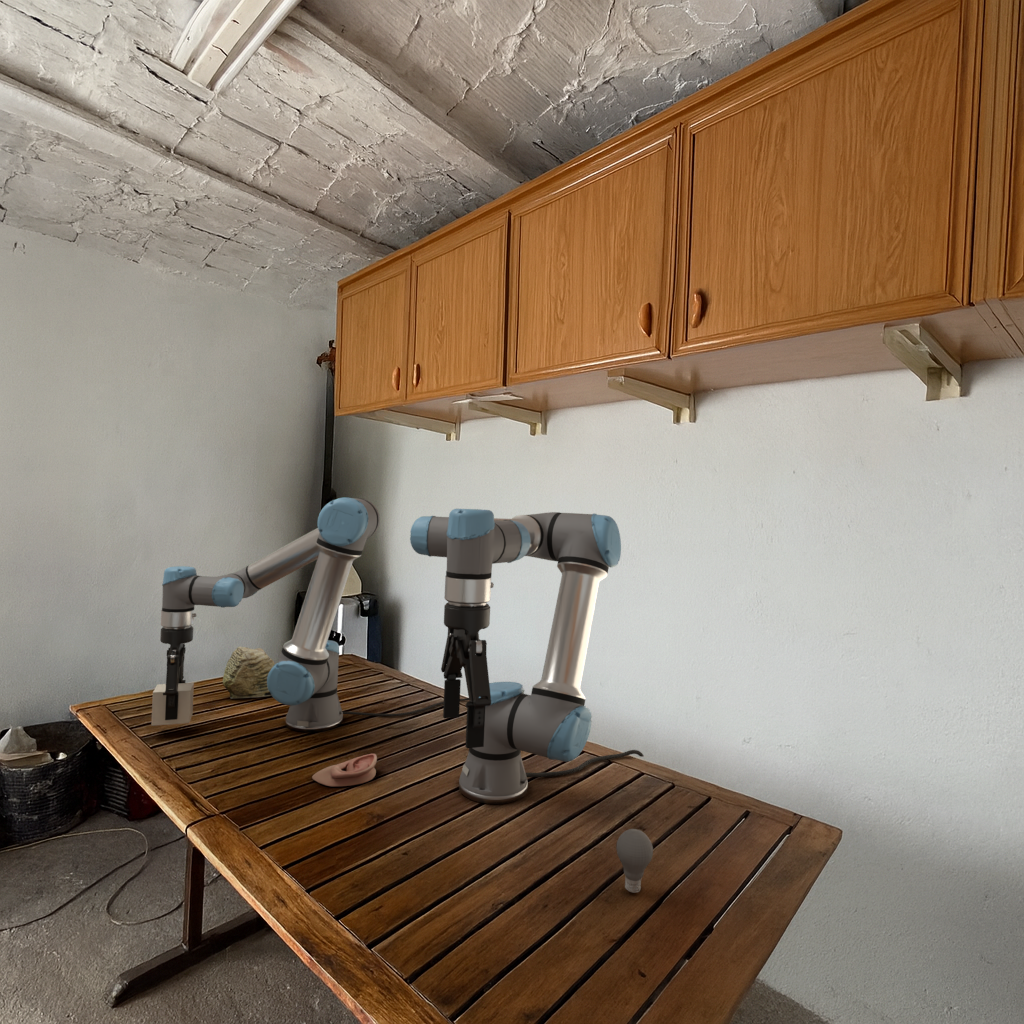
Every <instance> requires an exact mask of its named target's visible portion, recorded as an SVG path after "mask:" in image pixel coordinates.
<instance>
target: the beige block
mask: <svg viewBox="0 0 1024 1024" xmlns="http://www.w3.org/2000/svg"><path fill="white" fill-rule="evenodd" d="M194 687H195V682H185V683H178V693H179V694H178V716H177V719H176V720H165V710H166V695H163V693H165V691H166V683H162V684H161V683H160V684H159V683H158V684H156V686H155V688H154V690H153V691H152V701H151V702H152V705H151V722H150V723H151V726H153V727H154V726H167V725H168V726H169V725H183V724H190V723H191V720H192V717H193V714H194V691H195V690H194V689H195V688H194ZM169 690H172V689H169Z"/></svg>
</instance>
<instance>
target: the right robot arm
mask: <svg viewBox="0 0 1024 1024" xmlns="http://www.w3.org/2000/svg"><path fill="white" fill-rule="evenodd" d="M410 528H411V529H410V535H409V536H410V537H409V542H410V545H411V548H412V550H413V551H414V552H415V553H416V554H418V555H422V556H428V557H429V558H431V557H435V558H436V557H437V558H446V571H445V580H444V600H445V601H446V603H445V604H444V608H443V625H444V626H445V627H446V628H447V636H446V641H445V647H444V651H443V658H442V662H441V667H440V670H441V671H440V672H441V673H443V678H444V682H443V683H444V684H443V686H444V687H443V702H444V704H443V707H442V709H443V711H442V718H443V719H456V718H460V710H461V709H460V707H461V705H460V704H461V701H460V699H461V685H462V684H461V683H462V682H461V681H462V680H461V679H462V678H463V672H462V669H463V671H464V677H465V683H466V689H467V695H468V698H469V700H468V701H467V702H465V708H466V722H465V723H466V727H465V728H466V729H465V745H464V747H465V748H466V749H468V752H467V753H468V754H467V756H466V759H465V762H464V763H463V765H462V769H461V772H460V775H459V778H458V790H459V792H460V794H462V795H463V796H464V797H465V798H467V799H469V800H471V801H474V802H476V803H481V804H490V805H502V804H509V803H513V802H516V801H518V800H520V799H522V798H524V797H525V796H526V794H527V793H528V785H529V784H528V778H549V777H561V776H566V775H567V776H568V775H572V774H574V773H577V772H580V771H582V770H583V769H584V768H585V767H587V766H589V765H591V764H593V763H594V764H595V763H597V762H601V761H607V760H613V759H622V758H625V757H628V756H630V755H637V756H638V757H642V758H643V757H644V756H645V755H644V754H643V752H641V751H640V750H638V749H629V750H626V751H624V752H621V753H615V754H607V755H601V756H597V757H593V758H590V759H588V760H586V761H584V762H582V763H581V764H580V765H578V766H575V767H572V768H569V769H565V770H557V771H547V772H526V769H525V765H524V762H523V759H522V758H523V757H522V753H521V752H525V753H529V754H532V755H535V756H540V757H544V758H546V759H548V760H550V761H551V760H552V761H554V760H555V761H559V762H565V763H568V762H572V761H574V760H576V759H577V758H578V757H579V756H580V755H581V753H582V751H583V750H584V748H585V746H586V744H587V743H588V739H589V737H590V733H591V729H592V722H593V721H592V717H593V715H592V711H591V709H590V708H588V707H587V705H585V704H586V696H585V695H584V693H583V692H582V689H581V686H582V680H583V676H584V675H583V674H584V670H585V664H586V658H587V652H588V648H589V641H590V636H591V631H592V624H593V620H594V614H595V608H596V602H597V597H598V591H599V585H600V582H601V581H603V580H604V579H606V578H607V577H608V574H609V568H614V567H617V566H618V565H619V562H620V560H621V553H622V541H621V533H620V530H619V526H618V524H617V522H616V520H615V519H614V518H613V517H611V516H610V515H604V514H597V513H575V512H574V513H573V512H560V511H558V512H556V511H550V512H549V511H548V512H542V513H541V512H540V513H533V514H518V515H515V516H513V517H512V518H497V517H496V518H495V515H494V512H493V511H492V510H490V509H481V508H479V509H478V508H453V509H452V510H450V512H449V515H448V516H436V515H423V516H420V517H418V518H416V520H415V521H414V522H413V523H412V525H411V527H410ZM524 557H529V558H535V559H540V560H546V561H550V562H551V561H552V562H557V565H556V567H557V569H558V570H559V572H560V573H561V578H560V583H559V588H558V594H557V597H556V598H557V599H556V604H555V608H554V614H553V619H552V624H551V629H550V634H549V638H548V644H547V648H546V653H545V659H544V663H543V669H542V674H541V678H540V680H539V681H538V682H537V683H535V684H534V685H533V686H532V688H531V693H530V694H527V693H525V688H524V685H523V683H522V684H521V683H519V682H517V681H495V682H494V681H493V682H490V676H489V667H488V657H487V656H488V655H487V645H488V643H487V640H486V639H480V634H479V633H480V631H481V630H485V629H487V628H489V626H490V621H491V605H489V602H490V601H491V595H492V594H491V592H492V590H491V589H493V588H494V582H492V572H493V565H494V564H503V563H507V564H511V563H513V562H517V561H519V560H522V559H523V558H524Z"/></svg>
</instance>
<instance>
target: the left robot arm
mask: <svg viewBox="0 0 1024 1024" xmlns="http://www.w3.org/2000/svg"><path fill="white" fill-rule="evenodd" d="M380 524H381V516H380V513H379V509H378V508H377V507H376V505H375V504H374V503H373V502H371V501H369V500H368V499H365V498H361V497H348V496H347V497H339V498H336V499H332V500H330V501H329V502H328V503H326V504H325V505H324V506H323V507H322V509H321V510H320V511H319V514H318V516H317V528H315V529H312V530H311V531H309V532H307V533H305V534H304V535H302V536H300V537H298V538H296V539H294V540H292V541H290V542H289V543H287V544H284V545H283V546H282V547H280V548H278V549H276V550H274V551H272V552H270V553H269V554H268V553H267V554H266V555H264V556H263V557H261V558H259V559H257V560H256V561H254V562H252V563H250V564H248V565H246V566H244V567H242V568H241V569H239V570H237V571H235V572H232V573H231V572H230V573H226V574H223V575H218V576H204V575H203V576H202V575H198V574H197V569H196V568H195V567H193V566H187V565H185V566H184V565H180V566H179V565H178V566H177V565H176V566H169V567H166V568H165V569H164V571H163V579H162V580H163V581H162V584H161V586H162V601H161V603H162V605H161V610H160V611H161V613H160V626H161V628H160V636H159V637H160V640H159V641H160V642H161V643H162V644H166V645H169V647H168V649H166V676H165V677H166V678H165V684H166V691H165V693H163V695H166V710H165V720H176V719H177V716H178V694H179V693H178V683H186V679H185V676H184V670H185V669H184V668H185V667H184V666H185V655H186V649H187V647H186V644H188V643H191V642H193V640H194V626H193V625H194V624H195V623H194V619H195V618H196V617H197V615H198V614H197V613H196V612H195V606H206V607H218V608H223V609H224V608H236V607H238V606H239V604H240V603H241V602H242V600H243V599H247V598H249V597H252V596H254V595H255V594H257V593H258V592H259V591H260V590H262V589H263V588H266V587H268V586H269V585H272V584H273V583H275V582H277V581H279V580H280V579H283V578H285V577H286V576H288V575H290V574H292V573H293V572H296V571H297V570H299V569H301V568H303V567H305V566H307V565H309V564H311V563H313V562H315V561H316V562H315V565H314V569H313V571H312V575H311V578H310V581H309V584H308V588H307V591H306V594H305V596H304V599H303V602H302V605H301V609H300V613H299V616H298V618H297V622H296V625H295V627H294V631H293V633H292V636H291V637H292V638H291V639H290V640H288V641H285V642H284V644H283V645H282V648H281V652H280V654H279V657H278V661H277V662H276V663H275V665H274V666H273V668H271V670H270V672H269V674H268V677H267V687H268V690H269V692H270V693H271V695H272V696H271V697H272V698H273V699H274V700H275V701H277V702H278V703H279V704H282V705H285V706H289V708H288V711H287V713H286V715H285V726H286V728H287V729H289V730H291V731H294V732H295V731H296V732H301V733H316V732H325V731H329V730H332V729H335V728H337V727H339V726H340V725H342V723H343V722H344V715H354V716H367V717H368V716H369V717H370V716H371V717H402V716H408V715H412V714H413V715H414V714H417V713H420V712H424V711H428V710H430V709H432V708H434V707H438V706H442V705H444V701H440V702H436V703H434V704H431V705H427V706H426V707H423V708H419V709H416V710H412V711H407V712H399V713H376V712H375V713H374V712H360V711H343V709H342V706H341V702H340V699H339V695H338V682H339V681H338V680H339V678H338V677H339V662H340V661H339V660H340V659H339V657H340V645H339V643H338V642H337V641H335V640H330V639H329V637H330V634H331V631H332V628H333V625H334V621H335V619H336V615H337V612H338V609H339V606H340V603H341V599H342V598H343V597H342V596H343V593H344V590H345V587H346V584H347V581H348V578H349V574H350V572H351V569H352V565H353V562H354V561H355V560H357V559H358V558H360V557H362V554H363V551H364V548H365V546H366V545H365V544H366V542H367V540H369V539H370V538H371V537H373V536H374V535H375V534H376V532H377V531H378V529H379V528H380ZM169 689H172V690H169ZM466 701H467V702H468V701H469V697H465V698H460V702H466Z"/></svg>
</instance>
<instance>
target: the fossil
mask: <svg viewBox="0 0 1024 1024" xmlns="http://www.w3.org/2000/svg"><path fill="white" fill-rule="evenodd" d="M275 664H276V663H275V662H274V660H273V659H272V658H271V657H270V656H269V655H268V654H267V653H266V652H265V650H264V649H263V648H260V647H258V648H251V647H247V646H246V647H245V646H238V647H237V648H236V649H235V650H233V651H232V653H231V656H230V657H229V659H228V660H227V663H226V666H225V668H224V671H223V675H222V676H223V677H222V685H223V687H224V688H225V690H226V691H228V693H229V698H230V699H250V698H264V697H272V695H271V693H270V692H269V690H268V687H267V677H268V674H269V672H270V670H271V668H273V666H274V665H275Z"/></svg>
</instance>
